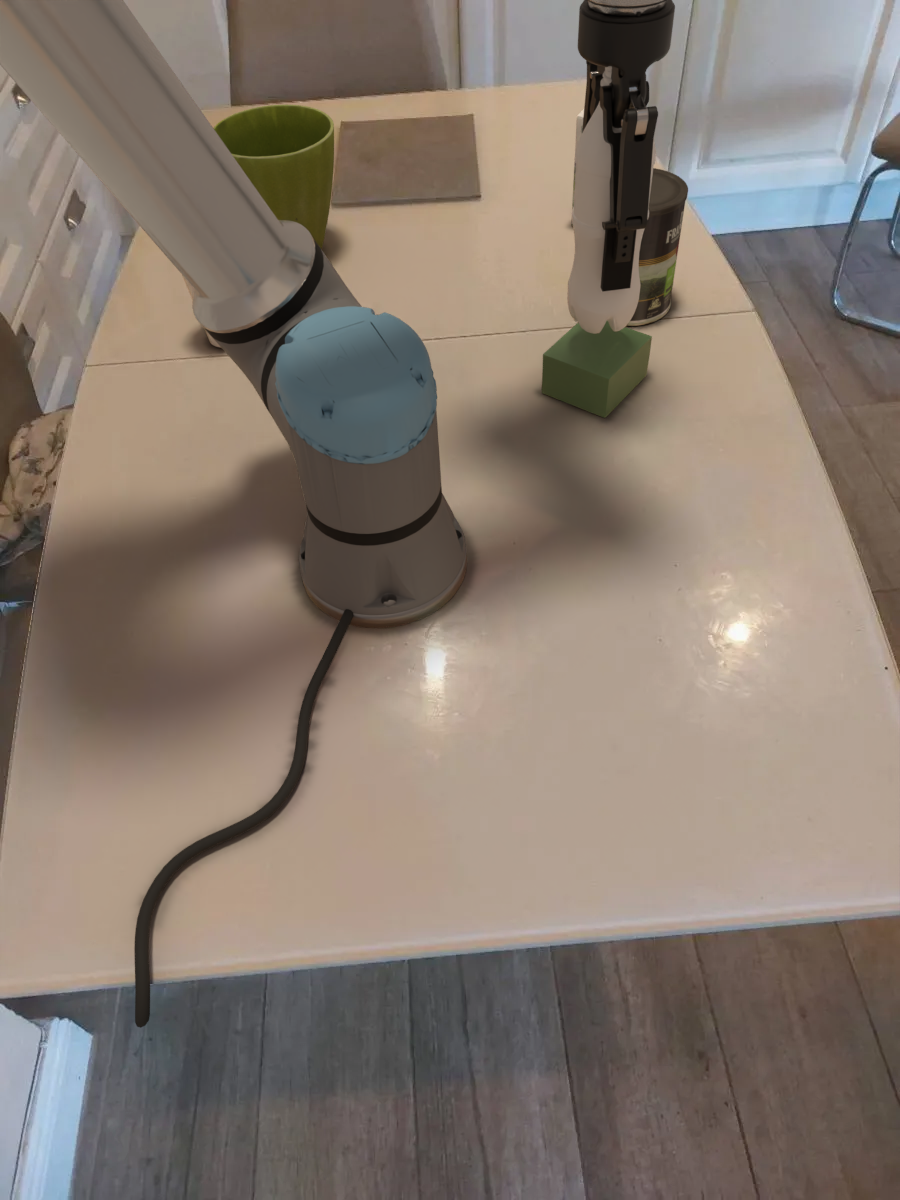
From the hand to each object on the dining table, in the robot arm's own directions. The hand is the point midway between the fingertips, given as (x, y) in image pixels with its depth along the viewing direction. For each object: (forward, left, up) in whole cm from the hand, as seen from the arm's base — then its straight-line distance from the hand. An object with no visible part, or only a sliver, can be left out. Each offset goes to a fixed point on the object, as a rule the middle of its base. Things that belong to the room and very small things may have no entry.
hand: (604, 266), depth 89 cm
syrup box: (+31, +18, -14) cm, 38 cm away
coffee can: (+16, +5, -14) cm, 22 cm away
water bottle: (0, 0, -6) cm, 6 cm away
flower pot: (+3, +48, -14) cm, 50 cm away
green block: (0, 0, -14) cm, 14 cm away
